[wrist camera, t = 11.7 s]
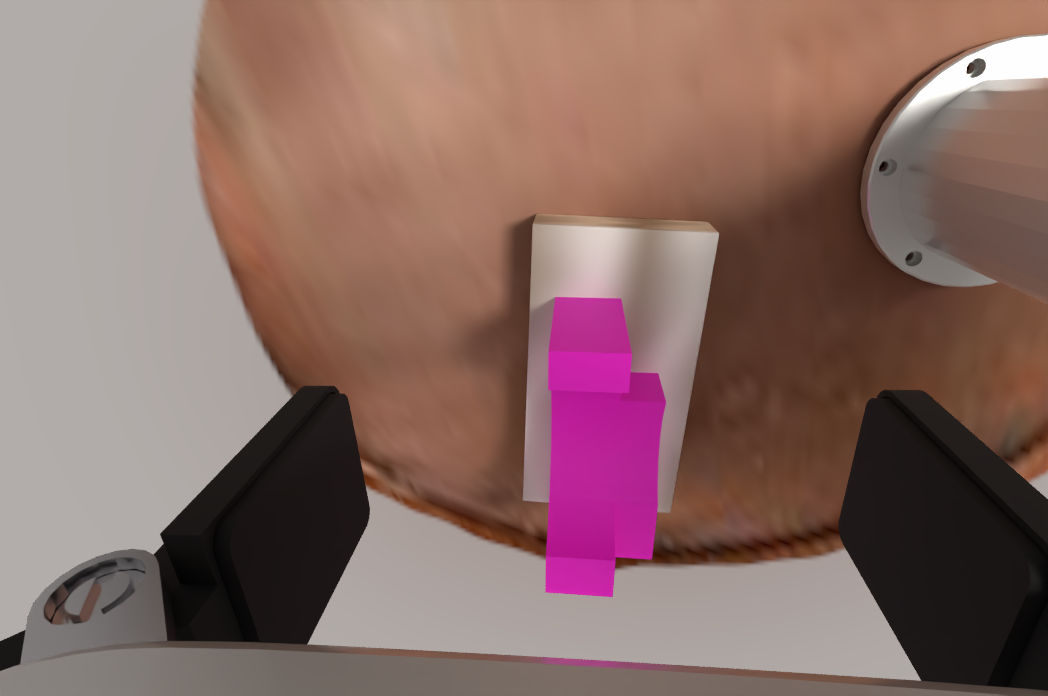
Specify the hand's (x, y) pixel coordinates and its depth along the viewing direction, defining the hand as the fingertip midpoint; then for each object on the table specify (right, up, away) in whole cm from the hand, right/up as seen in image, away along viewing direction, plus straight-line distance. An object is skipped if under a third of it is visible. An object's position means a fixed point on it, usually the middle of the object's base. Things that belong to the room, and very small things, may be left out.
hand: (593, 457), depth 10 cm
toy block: (+4, -2, +25) cm, 25 cm away
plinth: (+4, +1, +27) cm, 27 cm away
